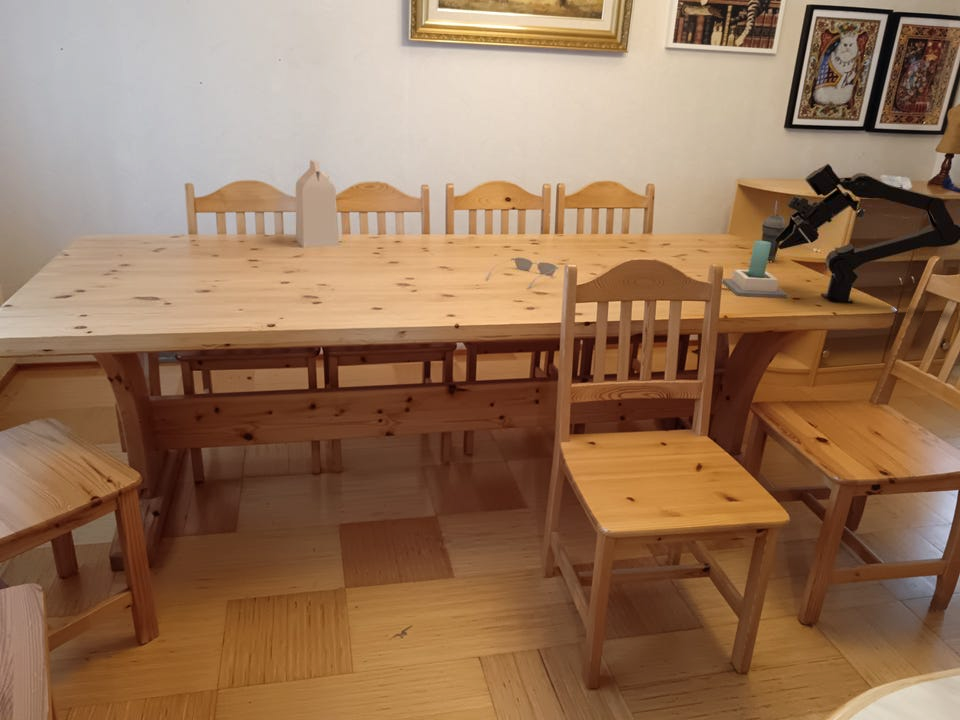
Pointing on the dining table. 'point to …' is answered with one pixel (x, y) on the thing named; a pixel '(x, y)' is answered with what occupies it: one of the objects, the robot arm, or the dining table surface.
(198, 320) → the dining table surface
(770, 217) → the beverage cup
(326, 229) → the milk
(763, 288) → the socket block
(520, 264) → the eyeglasses
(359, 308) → the dining table surface
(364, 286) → the dining table surface
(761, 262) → the peg
